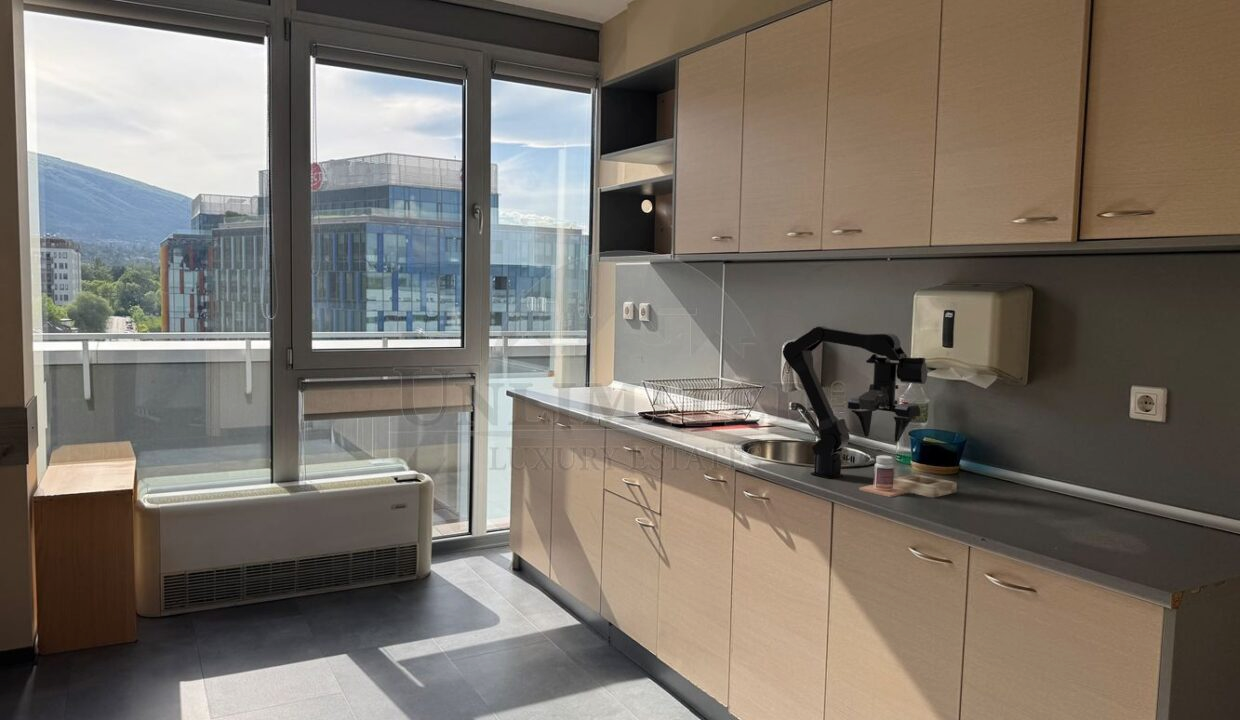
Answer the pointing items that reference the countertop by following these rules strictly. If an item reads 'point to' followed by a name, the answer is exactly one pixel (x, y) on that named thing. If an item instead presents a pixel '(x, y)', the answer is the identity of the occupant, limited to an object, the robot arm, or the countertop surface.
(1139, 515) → the countertop surface
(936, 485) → the frame block
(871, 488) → the terracotta tile
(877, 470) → the pill bottle
